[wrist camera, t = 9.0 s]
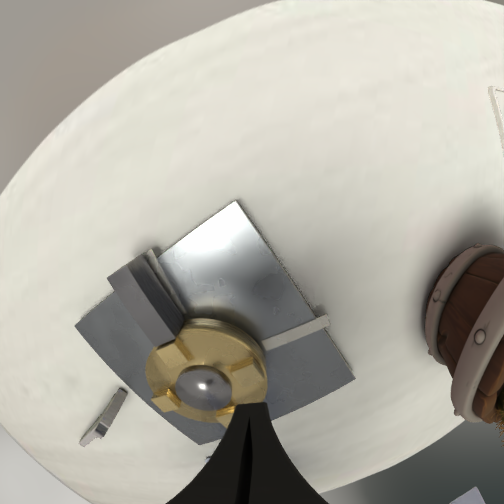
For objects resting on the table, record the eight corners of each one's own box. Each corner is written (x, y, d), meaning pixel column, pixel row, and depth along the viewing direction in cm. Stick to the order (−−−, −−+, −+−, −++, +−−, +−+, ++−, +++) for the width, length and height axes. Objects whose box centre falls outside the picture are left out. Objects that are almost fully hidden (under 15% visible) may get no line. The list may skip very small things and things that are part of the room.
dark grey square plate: (359, 366, 22) (364, 374, 20) (200, 437, 25) (199, 445, 23) (238, 180, 18) (237, 180, 17) (74, 311, 21) (67, 317, 19)
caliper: (121, 384, 23) (97, 426, 17) (129, 390, 23) (107, 433, 17) (80, 439, 27) (65, 466, 21) (86, 443, 27) (71, 470, 21)
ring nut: (285, 383, 20) (289, 409, 17) (196, 414, 21) (190, 438, 18) (184, 227, 17) (170, 237, 14) (93, 286, 18) (72, 302, 15)
